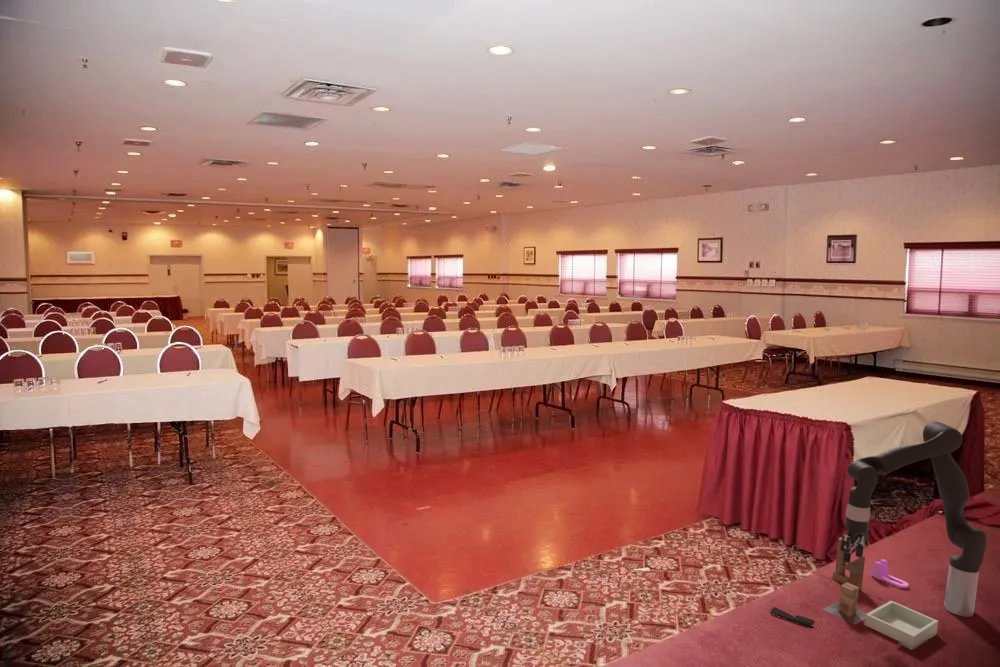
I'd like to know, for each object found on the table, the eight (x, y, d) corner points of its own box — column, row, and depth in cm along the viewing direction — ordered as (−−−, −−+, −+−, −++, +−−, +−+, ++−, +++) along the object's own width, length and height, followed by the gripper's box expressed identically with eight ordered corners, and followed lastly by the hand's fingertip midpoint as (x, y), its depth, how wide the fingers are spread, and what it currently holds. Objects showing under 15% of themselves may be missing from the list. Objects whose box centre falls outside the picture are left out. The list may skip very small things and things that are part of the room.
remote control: (769, 616, 249) (813, 630, 240) (769, 611, 249) (813, 625, 239) (773, 610, 253) (816, 624, 244) (773, 606, 253) (817, 619, 243)
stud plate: (839, 602, 258) (840, 591, 258) (871, 617, 249) (873, 605, 248) (822, 611, 252) (823, 599, 251) (854, 627, 242) (855, 614, 241)
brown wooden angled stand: (855, 592, 267) (860, 548, 264) (831, 580, 276) (836, 537, 274) (861, 590, 268) (866, 547, 266) (837, 578, 278) (842, 536, 276)
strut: (844, 607, 253) (847, 582, 252) (856, 613, 249) (858, 587, 248) (837, 611, 250) (840, 585, 249) (849, 616, 247) (852, 590, 246)
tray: (889, 613, 252) (891, 600, 251) (936, 634, 239) (938, 621, 238) (864, 627, 242) (865, 614, 241) (912, 650, 229) (913, 636, 228)
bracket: (871, 576, 280) (872, 560, 280) (878, 573, 284) (880, 557, 283) (903, 590, 270) (905, 574, 269) (910, 587, 273) (912, 570, 272)
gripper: (857, 524, 238) (852, 568, 240) (878, 516, 246) (873, 559, 248) (836, 517, 244) (832, 559, 246) (857, 509, 252) (852, 551, 254)
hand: (852, 559), depth 247 cm, fingers open, 8 cm apart
